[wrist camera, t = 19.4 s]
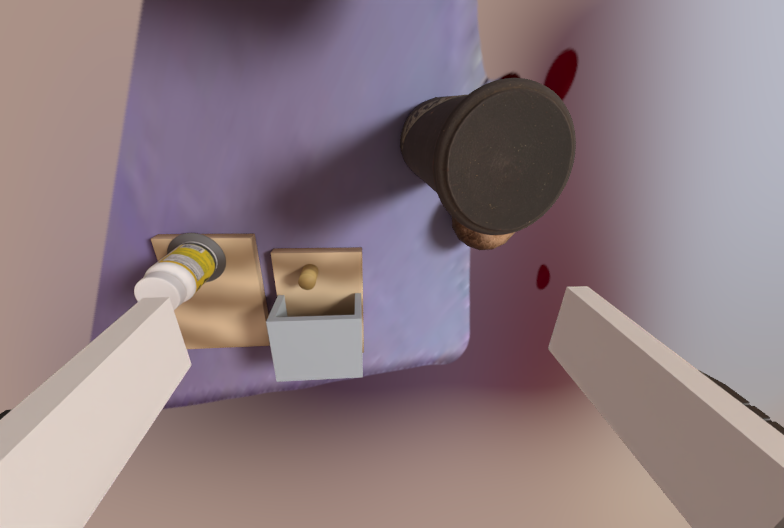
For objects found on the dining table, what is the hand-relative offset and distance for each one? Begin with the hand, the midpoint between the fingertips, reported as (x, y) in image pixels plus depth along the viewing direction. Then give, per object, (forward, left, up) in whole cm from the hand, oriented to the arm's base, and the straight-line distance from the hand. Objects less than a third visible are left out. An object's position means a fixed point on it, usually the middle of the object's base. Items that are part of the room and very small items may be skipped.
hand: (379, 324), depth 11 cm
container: (-4, +8, -29) cm, 30 cm away
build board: (+15, -19, -29) cm, 38 cm away
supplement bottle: (+10, -20, -27) cm, 35 cm away
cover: (+19, -6, -27) cm, 34 cm away
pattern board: (+17, -6, -29) cm, 34 cm away
